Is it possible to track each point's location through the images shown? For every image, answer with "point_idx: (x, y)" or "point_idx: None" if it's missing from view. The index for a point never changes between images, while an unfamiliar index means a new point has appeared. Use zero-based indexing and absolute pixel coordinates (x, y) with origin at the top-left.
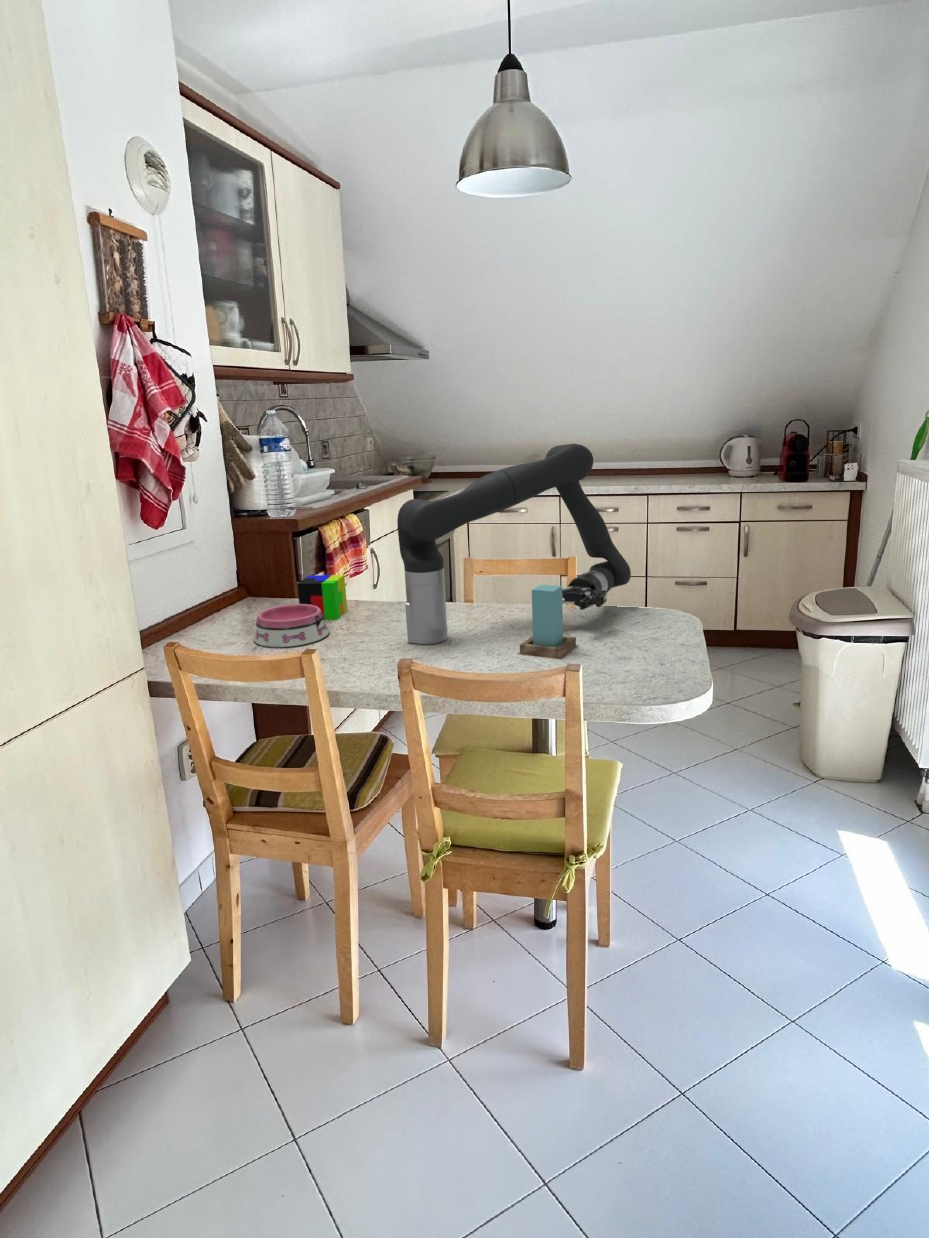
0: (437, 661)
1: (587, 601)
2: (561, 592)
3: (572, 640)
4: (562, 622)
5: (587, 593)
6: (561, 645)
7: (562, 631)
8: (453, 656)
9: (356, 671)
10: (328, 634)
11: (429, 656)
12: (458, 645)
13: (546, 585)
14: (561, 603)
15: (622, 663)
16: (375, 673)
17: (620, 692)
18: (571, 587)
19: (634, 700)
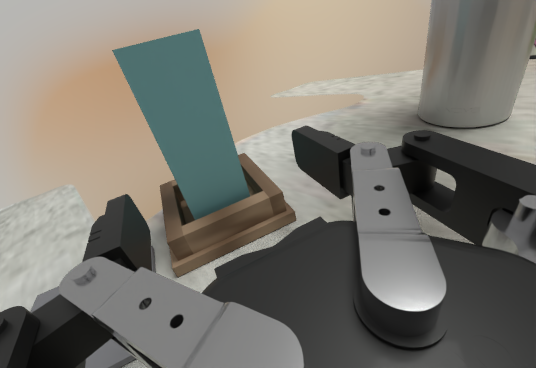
0: (325, 116)
1: (93, 229)
2: (124, 74)
3: (165, 227)
4: (172, 173)
5: (120, 290)
6: (169, 195)
7: (183, 195)
8: (333, 126)
9: (344, 84)
10: (533, 56)
11: (353, 112)
12: (391, 134)
13: (173, 35)
14: (144, 114)
15: (30, 294)
16: (326, 90)
17: (33, 213)
18: (364, 245)
19: (11, 212)
